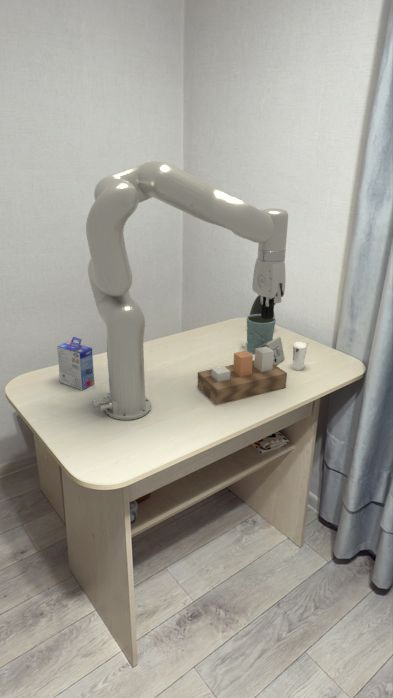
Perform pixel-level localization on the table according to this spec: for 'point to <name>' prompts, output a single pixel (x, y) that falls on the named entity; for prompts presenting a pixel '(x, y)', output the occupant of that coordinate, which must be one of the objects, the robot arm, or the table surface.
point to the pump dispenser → (257, 306)
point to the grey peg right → (264, 359)
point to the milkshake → (299, 355)
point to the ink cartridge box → (75, 364)
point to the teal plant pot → (259, 331)
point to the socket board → (241, 384)
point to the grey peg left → (220, 374)
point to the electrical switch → (275, 349)
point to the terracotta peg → (243, 363)
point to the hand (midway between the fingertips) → (267, 317)
